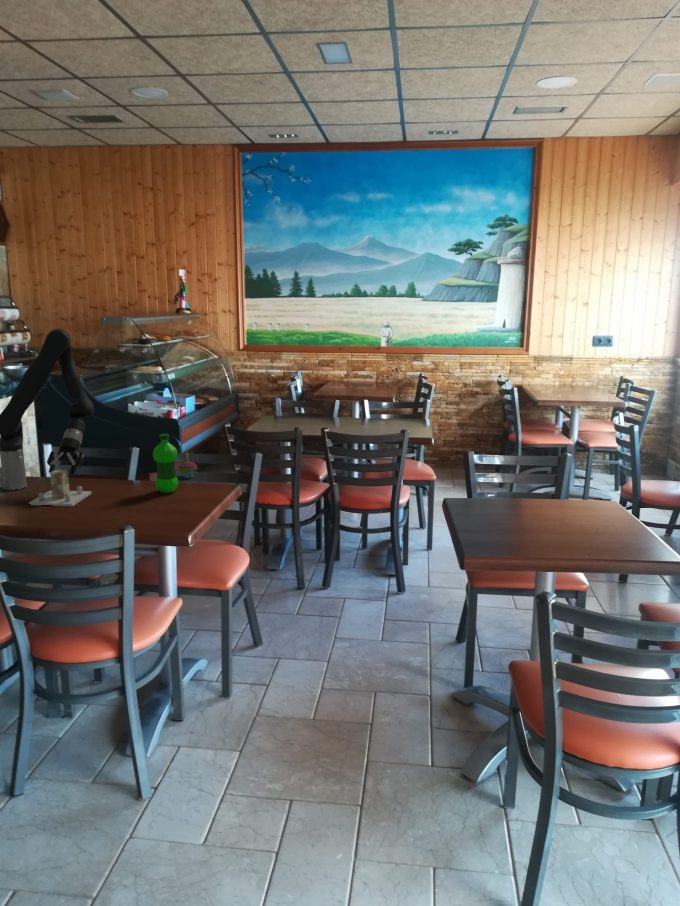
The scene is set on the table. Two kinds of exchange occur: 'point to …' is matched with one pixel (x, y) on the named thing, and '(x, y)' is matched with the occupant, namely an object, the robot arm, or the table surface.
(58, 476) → the birch block
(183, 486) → the table surface
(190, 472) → the cupcake
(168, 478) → the plastic bottle
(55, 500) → the peg plate
